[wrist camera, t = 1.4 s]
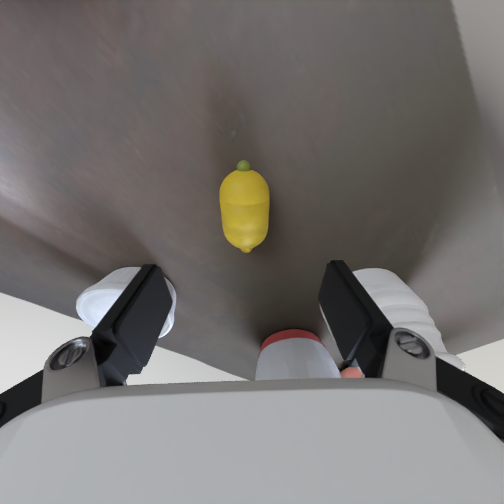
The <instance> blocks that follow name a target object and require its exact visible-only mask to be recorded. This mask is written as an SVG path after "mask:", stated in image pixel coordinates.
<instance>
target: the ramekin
mask: <svg viewBox="0 0 504 504" xmlns="http://www.w3.org/2000/svg"><path fill="white" fill-rule="evenodd" d="M140 269H141V267H125V268H120V269H117V270H115V271H113V272H112V273H110V274H109V275H107V276H106V277H105V278H103V279H102V280H101V281H99V282H98V283H97V284H95V285H93V286H91V287H89V288H87V289H86V290H85V291H84V292H83V293H82V294H81V295H80V296H79V297H78V299H77V301H76V310H77V312H78V315H79V316H80V317H81V318H82V320H83V321H85V322H86V323H87V324H88V325H89V326H91V327H92V328H95V327H96V326H97V324H98V323H99V322H100V321H101V319H102V318H103V317H104V315H105V314H106V313H107V311H108V310H109V309H110V308H111V306H112V305H113V304H114V302H115V301H116V300H117V299H118V297H119V296H120V295H121V293H122V292H123V291H124V289H125V288H126V287H127V286H128V284H129V283H130V282H131V280H132V279H133V278H134V276H135V275H136V274H137V273H138V271H139V270H140ZM164 278H165V277H164ZM165 281H166V283H167V286H168V289H169V291H170V294H171V297H172V300H173V304H172V307H171V310H170V312H169V314H168V317H167V319H166V321H165V324H164V326H163V328H162V331H161V333H160V335H159V338H160V337H163V336H164V335H166V334H167V333H168V332H169V331H170V330H171V328H172V326H173V323H174V310H175V304H176V292H175V289H174V287H173V285H172V284H171V283H170V281H169V280H168V279H167V278H165Z"/></svg>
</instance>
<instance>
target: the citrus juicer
mask: <svg viewBox="0 0 504 504" xmlns="http://www.w3.org/2000/svg"><path fill="white" fill-rule="evenodd" d="M318 378H342V376H341V374H340V372H339V370H338V368H337V366H336V364H335V363H334V361H333V359H332V357H331V356H330V354H329V353H328V351H327V350H326V348H325V346H324V345H323V343H322V342H321V341H320V340H319V339H318V337H317V336H316V335H314V334H313V333H311V332H308V331H305V330H297V329H290V330H285V331H281V332H277V333H275V334H273V335H271V336H269V337H268V338H267V339H266V340H265V341H264V342H263V344H262V347H261V350H260V353H259V360H258V364H257V370H256V379H255V380H282V379H318Z"/></svg>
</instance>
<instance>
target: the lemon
mask: <svg viewBox="0 0 504 504" xmlns="http://www.w3.org/2000/svg"><path fill="white" fill-rule="evenodd" d="M219 194H220V207H221V216H222V225H223V231H224V234H225V236H226V238H227V240H228V241H229V242H230V243H231V244H233V245H234V246H236V247H238V248H240V249H241V251H242V252H244V253H248V252H250V251H251V250H252V248H253V247H255V246H257V245H259V244H260V243H261V242H262V241H263V240H264V238H265V237H266V234H267V232H268V221H269V200H270V196H269V188H268V185H267V183H266V181H265V180H264V178H263V177H262V176H261V175H260V174H259V173H257V172H255V171H253V170H250V164H249V163H248V162H247V161H245V160H242V161H240V162H239V163H238V165H237V170H235V171H233V172H232V173H230V174H229V175H228V176H227V177H226V178H225V179H224V181H223V182H222V184H221V187H220V193H219Z"/></svg>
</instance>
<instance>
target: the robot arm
mask: <svg viewBox="0 0 504 504" xmlns="http://www.w3.org/2000/svg"><path fill="white" fill-rule="evenodd" d="M318 301H319V304H320V306H321V308H322V311H323V313H324V315H325V318H326V320H327V323H328V325H329V327H330V330H331V332H332V334H333V337H334V339H335V341H336V344H337V346H338V348H339V351H340V353H341V356H342V358H343V359H344V360H347V362H348V365H349V367H360V370H361V372H362V373H363V374H362V378H318V379H282V380H251V381H222V382H194V383H168V384H145V385H129V386H128V385H127V384H126V379H127V377H128V375H129V374H140V373H141V371H142V369H143V367H145V366H146V365H147V363H148V361H149V359H150V357H151V354H152V352H153V350H154V347H155V345H156V342H157V340H158V338H159V335H160V333H161V331H162V328H163V326H164V324H165V321H166V319H167V317H168V314H169V312H170V310H171V307H172V304H173V300H172V297H171V294H170V291H169V289H168V286H167V283H166V281H165V278H164V275H163V273H162V270H161V268H160V267H158V266H157V265H156V264H145V265H143V266H142V267H141V269H140V270H139V271H138V273H137V274H136V275H135V276H134V278H133V279H132V280H131V282H130V283H129V284H128V286H127V287H126V288H125V289H124V291H123V292H122V293H121V295H120V296H119V297H118V299H117V300H116V301H115V302H114V304H113V305H112V306H111V308H110V309H109V310H108V311H107V313H106V314H105V315H104V317H103V318H102V319H101V321H100V322H99V323H98V324H97V326H96V327H95V328H94V330H93V331H92V335H91V336H90V337H78V338H75V339H72V340H70V341H68V342H66V343H64V344H63V345H61V346H60V347H59V348H57V349H56V350H55V351H54V352H53V353H52V354H51V355H50V356H49V358H48V359H47V361H46V362H45V366H44V369H43V370H41V371H40V372H38V373H36V374H34V375H32V376H31V377H29V378H27V379H26V380H24V381H22V382H20V383H19V384H17V385H15V386H13V387H12V388H10V389H8V390H7V391H5V392H3V393H1V394H0V504H504V394H503V393H502V392H500V391H499V390H497V389H495V388H494V387H492V386H490V385H488V384H486V383H485V382H483V381H481V380H479V379H477V378H476V377H474V376H472V375H470V374H468V373H466V372H464V371H463V370H461V369H459V368H457V367H455V366H453V365H452V364H450V363H448V362H446V361H444V360H442V359H440V358H439V357H437V356H435V352H434V349H433V348H432V346H431V345H430V344H429V342H428V341H427V340H426V339H425V338H423V337H422V336H421V335H419V334H418V333H416V332H414V331H412V330H409V329H407V328H401V327H398V328H394V327H393V326H392V324H391V323H390V322H389V320H388V319H387V318H386V316H385V315H384V314H383V312H382V311H381V310H380V308H379V307H378V306H377V304H376V303H375V302H374V300H373V299H372V298H371V296H370V295H369V294H368V292H367V291H366V290H365V288H364V287H363V286H362V285H361V283H360V282H359V281H358V279H357V278H356V277H355V275H354V274H353V273H352V271H351V270H350V269H349V267H348V266H347V265H346V263H345V262H344V261H343V260H331V261H330V263H328V264H327V266H326V270H325V273H324V277H323V280H322V284H321V287H320V291H319V295H318Z"/></svg>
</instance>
